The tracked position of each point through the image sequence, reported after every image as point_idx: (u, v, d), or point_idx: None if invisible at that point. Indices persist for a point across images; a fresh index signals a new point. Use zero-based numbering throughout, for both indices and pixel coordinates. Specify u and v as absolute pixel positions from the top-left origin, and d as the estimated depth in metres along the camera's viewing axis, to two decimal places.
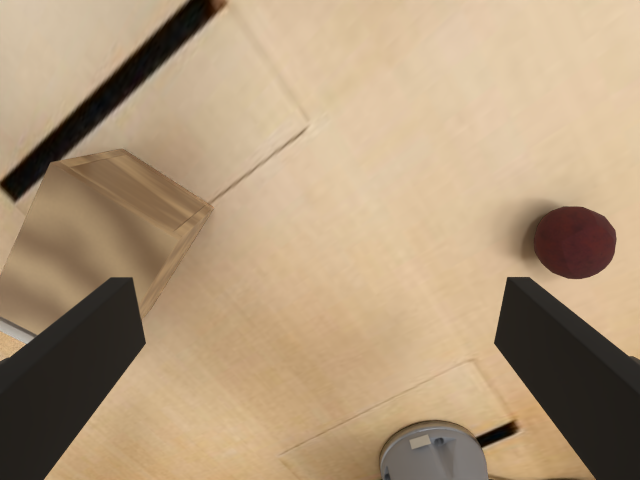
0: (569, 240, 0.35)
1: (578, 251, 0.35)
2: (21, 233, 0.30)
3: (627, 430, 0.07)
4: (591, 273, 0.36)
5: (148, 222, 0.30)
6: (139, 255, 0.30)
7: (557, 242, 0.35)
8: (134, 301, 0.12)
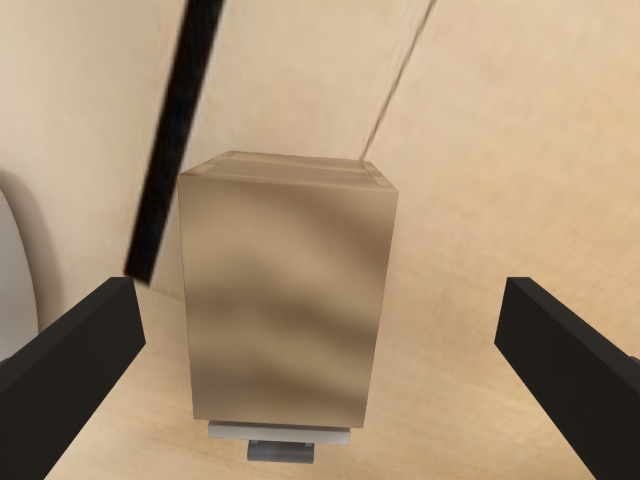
0: None
1: None
2: (188, 299, 0.20)
3: (627, 430, 0.07)
4: None
5: (344, 188, 0.18)
6: (351, 246, 0.19)
7: None
8: (134, 301, 0.12)
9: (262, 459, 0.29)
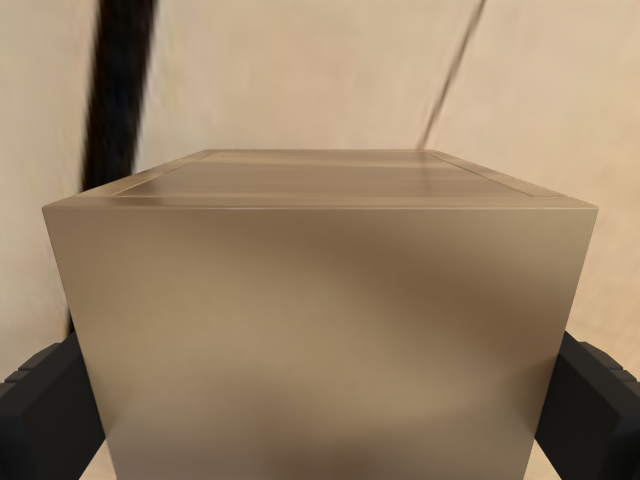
0: None
1: None
2: (118, 462, 0.10)
3: (569, 407, 0.08)
4: None
5: (459, 209, 0.07)
6: (473, 340, 0.08)
7: None
8: None
9: None
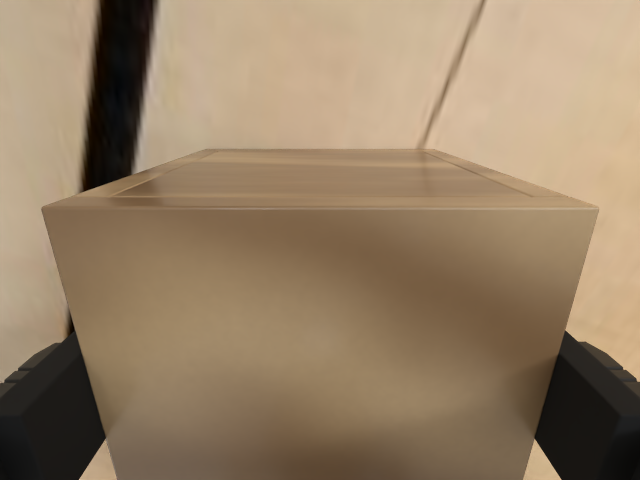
0: None
1: None
2: (119, 462, 0.10)
3: (569, 407, 0.08)
4: None
5: (459, 209, 0.07)
6: (473, 340, 0.08)
7: None
8: None
9: None
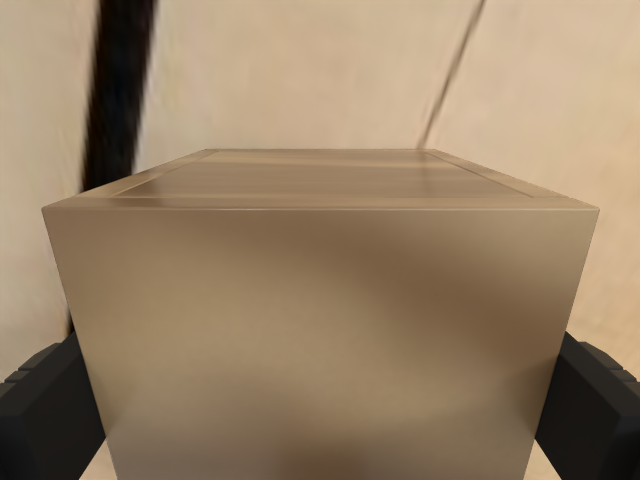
0: None
1: None
2: (119, 462, 0.10)
3: (569, 406, 0.08)
4: None
5: (459, 210, 0.07)
6: (473, 341, 0.08)
7: None
8: None
9: None
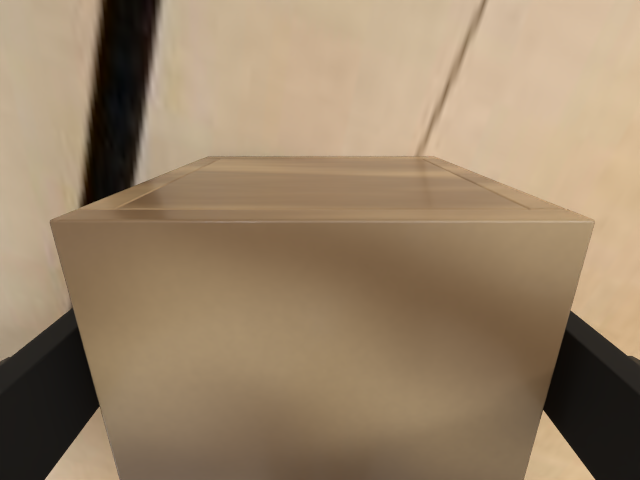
0: None
1: None
2: (123, 468, 0.10)
3: (626, 429, 0.07)
4: None
5: (457, 222, 0.07)
6: (472, 349, 0.08)
7: None
8: None
9: None
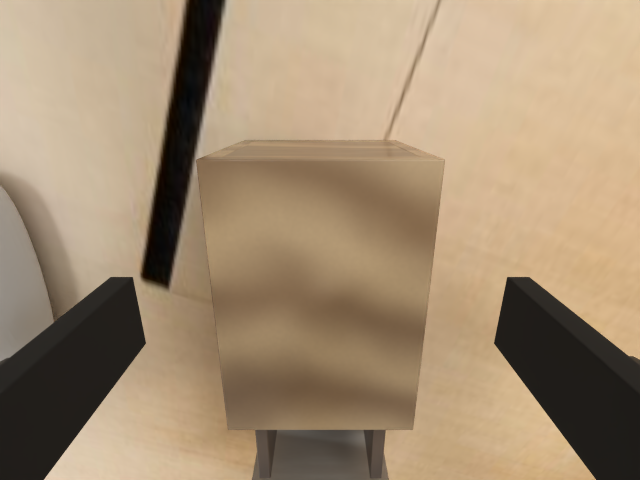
0: None
1: None
2: (215, 298, 0.18)
3: (627, 430, 0.07)
4: None
5: (382, 161, 0.16)
6: (393, 226, 0.17)
7: None
8: (134, 301, 0.12)
9: None
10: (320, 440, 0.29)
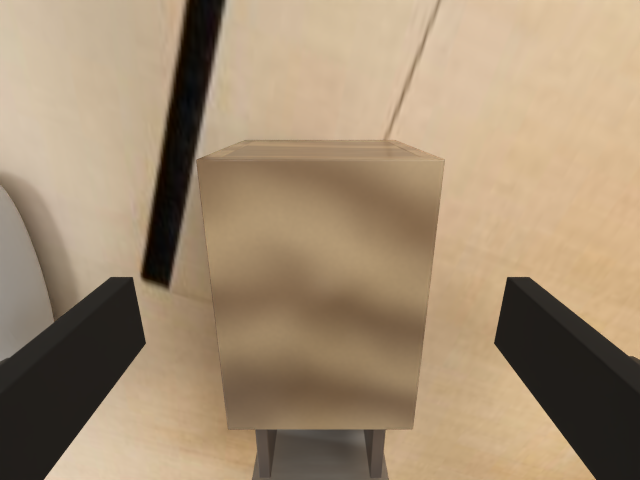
0: None
1: None
2: (216, 298, 0.18)
3: (627, 430, 0.07)
4: None
5: (382, 161, 0.16)
6: (393, 226, 0.17)
7: None
8: (135, 301, 0.12)
9: None
10: (320, 440, 0.29)
